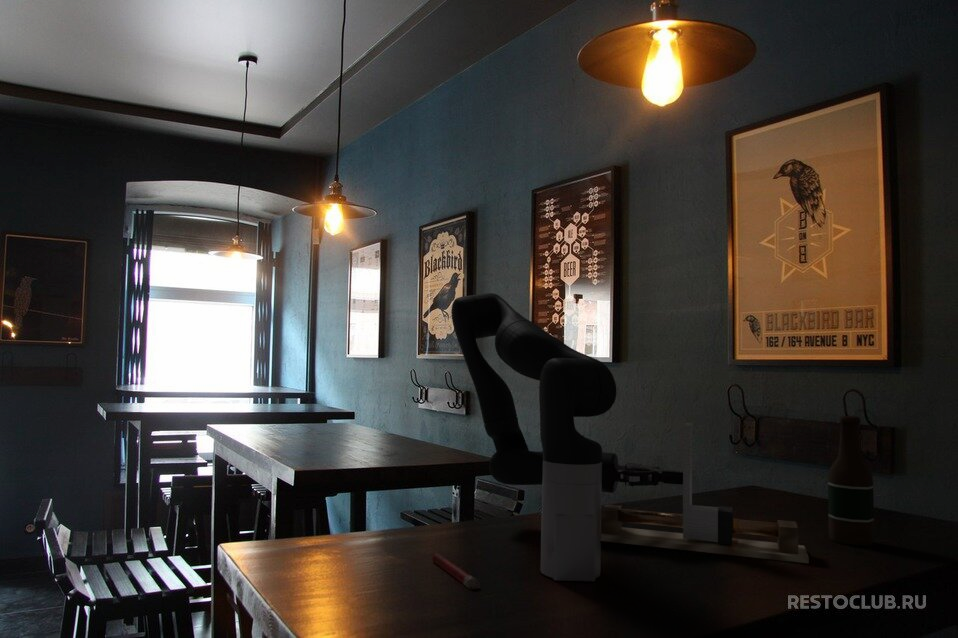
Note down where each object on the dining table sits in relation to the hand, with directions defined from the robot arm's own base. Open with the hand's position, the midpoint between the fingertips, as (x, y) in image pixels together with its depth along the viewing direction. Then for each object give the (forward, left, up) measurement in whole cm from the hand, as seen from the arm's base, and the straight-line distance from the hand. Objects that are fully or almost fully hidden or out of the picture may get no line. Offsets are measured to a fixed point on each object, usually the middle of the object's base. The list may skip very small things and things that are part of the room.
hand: (684, 478), depth 132 cm
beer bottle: (+5, -34, -12) cm, 36 cm away
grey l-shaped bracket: (-1, -3, -10) cm, 11 cm away
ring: (-3, -7, -11) cm, 13 cm away
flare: (-23, +42, -13) cm, 49 cm away
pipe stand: (-1, -2, -12) cm, 12 cm away
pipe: (-1, -2, -9) cm, 9 cm away
